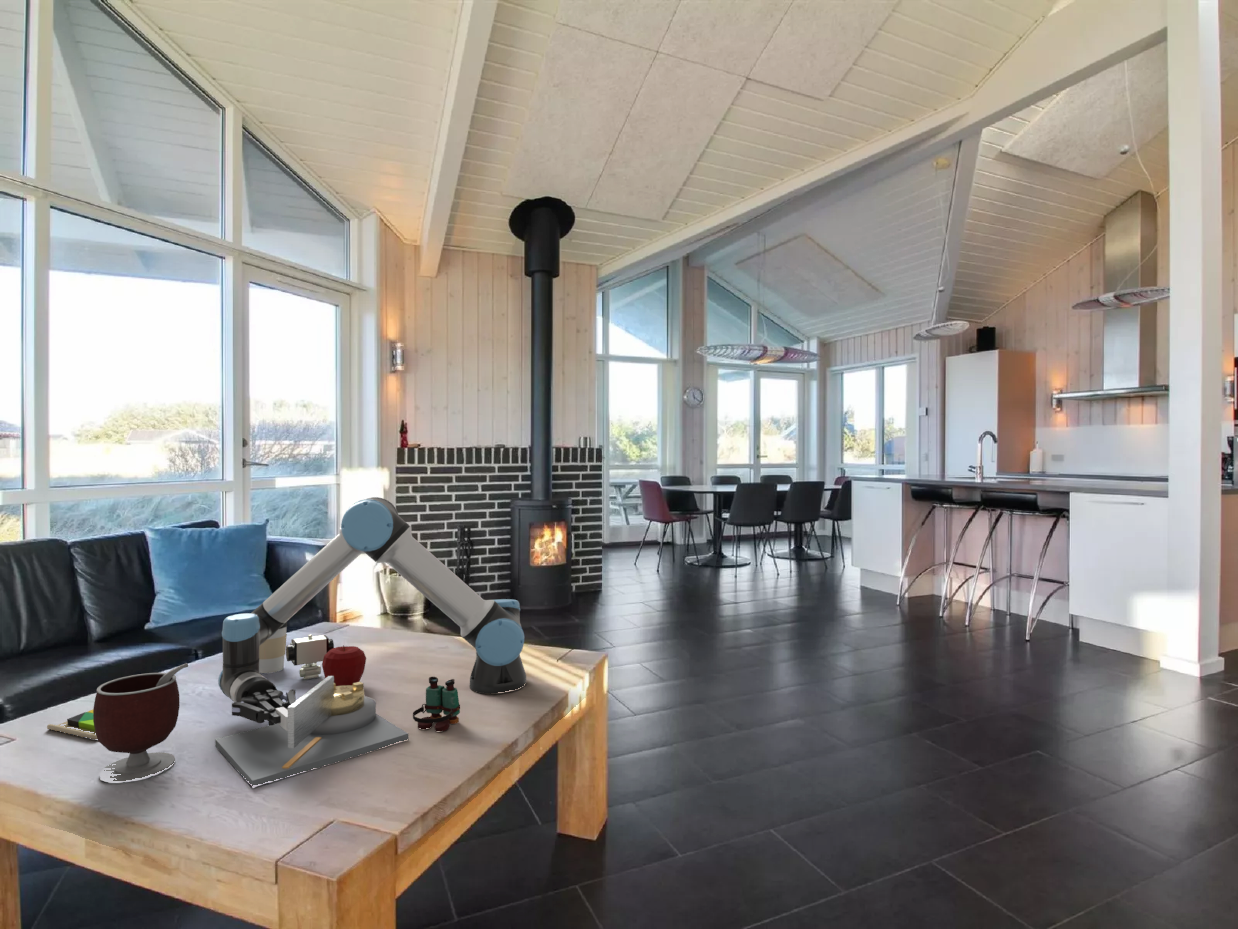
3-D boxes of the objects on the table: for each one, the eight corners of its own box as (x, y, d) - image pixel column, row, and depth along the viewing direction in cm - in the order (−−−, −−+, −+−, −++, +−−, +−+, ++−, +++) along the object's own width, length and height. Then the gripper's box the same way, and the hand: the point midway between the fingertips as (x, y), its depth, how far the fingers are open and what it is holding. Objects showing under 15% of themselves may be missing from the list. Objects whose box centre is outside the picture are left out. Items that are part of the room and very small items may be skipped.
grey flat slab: (358, 708, 166) (358, 690, 166) (408, 740, 148) (408, 719, 148) (215, 746, 145) (215, 725, 145) (252, 788, 126) (252, 764, 126)
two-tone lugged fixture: (324, 698, 160) (324, 663, 160) (371, 697, 161) (371, 663, 160) (262, 749, 132) (262, 707, 132) (319, 749, 132) (319, 707, 132)
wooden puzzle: (43, 733, 153) (43, 717, 153) (130, 705, 171) (130, 691, 171) (94, 745, 147) (94, 728, 147) (178, 714, 164) (178, 700, 164)
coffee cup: (294, 668, 199) (293, 617, 198) (263, 676, 191) (263, 623, 191) (276, 663, 203) (276, 613, 203) (246, 671, 196) (245, 619, 196)
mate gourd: (83, 791, 125) (82, 683, 125) (105, 761, 138) (104, 662, 138) (182, 775, 131) (181, 672, 131) (194, 747, 144) (194, 654, 144)
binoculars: (405, 690, 151) (431, 672, 160) (408, 735, 152) (434, 715, 162) (439, 694, 148) (464, 676, 158) (442, 740, 149) (466, 719, 159)
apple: (329, 698, 173) (329, 653, 173) (316, 688, 181) (316, 644, 181) (372, 689, 181) (372, 645, 181) (357, 679, 189) (357, 637, 189)
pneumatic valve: (334, 675, 192) (334, 633, 191) (288, 683, 185) (288, 639, 185) (330, 670, 196) (329, 629, 196) (285, 678, 189) (285, 635, 189)
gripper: (285, 702, 156) (324, 732, 139) (221, 717, 147) (254, 751, 130) (284, 670, 156) (323, 696, 139) (220, 683, 147) (254, 712, 130)
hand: (290, 722), depth 134 cm, fingers closed
